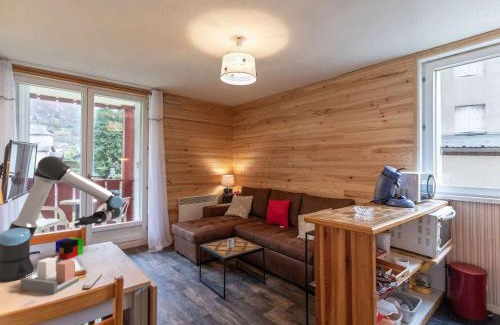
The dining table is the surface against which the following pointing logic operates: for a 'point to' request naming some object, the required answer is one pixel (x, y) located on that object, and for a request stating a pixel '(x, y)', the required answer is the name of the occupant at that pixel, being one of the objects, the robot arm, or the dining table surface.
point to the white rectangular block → (46, 268)
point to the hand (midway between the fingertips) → (68, 225)
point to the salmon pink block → (65, 271)
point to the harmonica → (92, 281)
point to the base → (46, 285)
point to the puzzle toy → (69, 247)
